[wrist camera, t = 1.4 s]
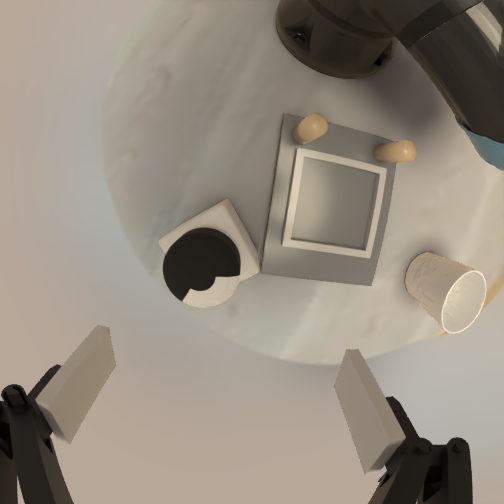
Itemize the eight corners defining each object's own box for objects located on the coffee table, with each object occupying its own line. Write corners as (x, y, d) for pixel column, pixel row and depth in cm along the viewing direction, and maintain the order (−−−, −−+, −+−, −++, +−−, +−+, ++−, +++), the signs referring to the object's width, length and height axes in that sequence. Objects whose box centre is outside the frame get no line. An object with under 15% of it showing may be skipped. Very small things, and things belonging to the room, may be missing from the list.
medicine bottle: (174, 227, 31) (136, 256, 20) (228, 197, 31) (216, 209, 19) (205, 279, 33) (185, 331, 21) (258, 252, 32) (264, 294, 21)
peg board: (283, 116, 28) (293, 99, 21) (393, 143, 29) (426, 138, 22) (260, 269, 33) (263, 294, 26) (367, 282, 34) (392, 306, 27)
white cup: (402, 307, 35) (439, 343, 25) (398, 256, 33) (442, 283, 23) (443, 290, 34) (483, 318, 25) (442, 241, 32) (488, 261, 23)
